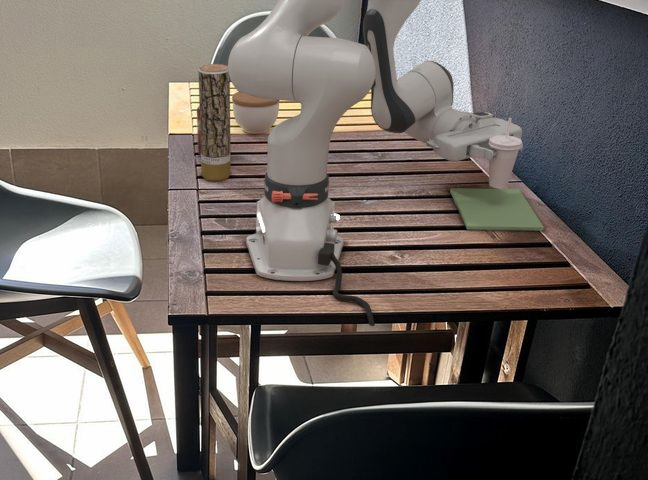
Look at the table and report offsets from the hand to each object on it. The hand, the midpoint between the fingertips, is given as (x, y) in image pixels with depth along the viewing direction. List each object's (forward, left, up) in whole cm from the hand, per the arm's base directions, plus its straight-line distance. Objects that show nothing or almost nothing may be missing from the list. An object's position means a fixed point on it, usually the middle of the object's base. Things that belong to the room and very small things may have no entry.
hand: (507, 151), depth 163 cm
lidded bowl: (+53, +53, -13) cm, 75 cm away
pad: (+1, +1, -13) cm, 13 cm away
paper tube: (+18, +61, -13) cm, 64 cm away
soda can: (+33, +63, -13) cm, 72 cm away
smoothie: (+1, +1, -8) cm, 8 cm away
